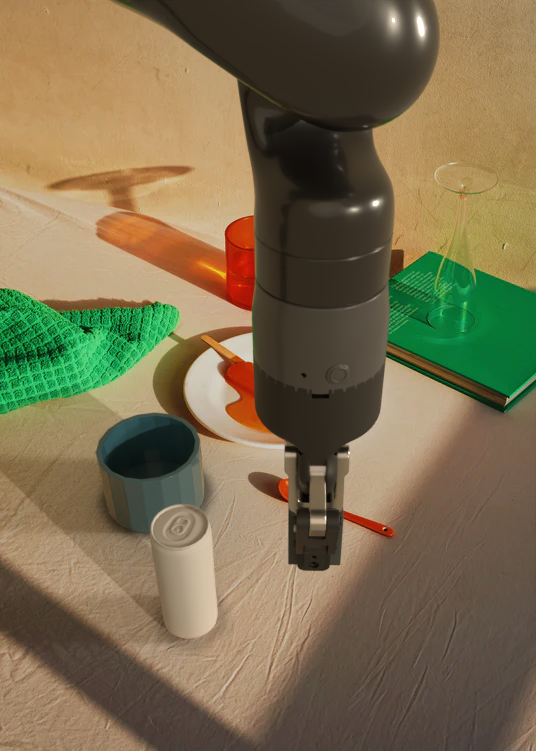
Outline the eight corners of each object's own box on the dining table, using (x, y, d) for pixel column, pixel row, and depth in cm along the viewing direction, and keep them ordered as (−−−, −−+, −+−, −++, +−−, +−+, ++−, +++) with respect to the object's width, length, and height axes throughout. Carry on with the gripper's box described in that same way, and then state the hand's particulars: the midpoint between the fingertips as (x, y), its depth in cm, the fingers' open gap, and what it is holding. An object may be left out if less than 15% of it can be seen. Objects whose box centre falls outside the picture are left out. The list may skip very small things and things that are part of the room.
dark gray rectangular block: (340, 565, 51) (343, 516, 48) (288, 564, 51) (288, 515, 48) (338, 532, 53) (341, 483, 50) (288, 531, 53) (288, 482, 50)
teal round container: (140, 550, 70) (131, 499, 66) (88, 491, 77) (77, 441, 72) (224, 500, 75) (220, 449, 71) (168, 448, 82) (162, 399, 77)
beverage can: (153, 632, 63) (136, 539, 56) (179, 588, 67) (166, 495, 60) (204, 650, 62) (193, 557, 55) (227, 604, 65) (220, 511, 58)
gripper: (258, 281, 47) (263, 474, 58) (245, 425, 36) (254, 633, 46) (376, 281, 47) (360, 475, 57) (399, 427, 36) (374, 635, 46)
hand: (312, 545), depth 52 cm, fingers closed on dark gray rectangular block, 3 cm apart
